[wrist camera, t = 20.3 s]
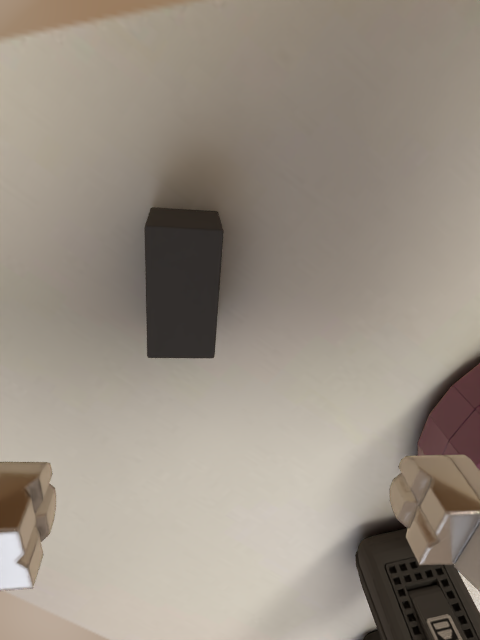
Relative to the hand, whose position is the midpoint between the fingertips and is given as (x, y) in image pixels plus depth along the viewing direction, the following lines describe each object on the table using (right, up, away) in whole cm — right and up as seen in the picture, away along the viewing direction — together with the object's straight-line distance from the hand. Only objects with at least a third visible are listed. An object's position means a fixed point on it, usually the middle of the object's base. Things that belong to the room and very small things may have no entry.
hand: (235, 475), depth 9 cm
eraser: (-3, +6, +10) cm, 12 cm away
